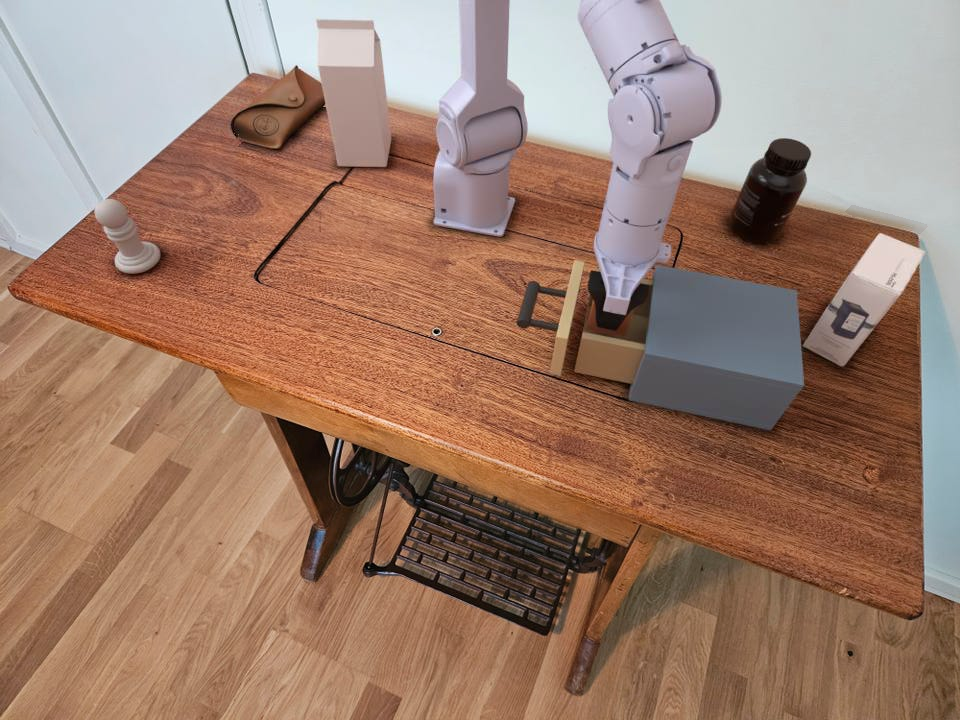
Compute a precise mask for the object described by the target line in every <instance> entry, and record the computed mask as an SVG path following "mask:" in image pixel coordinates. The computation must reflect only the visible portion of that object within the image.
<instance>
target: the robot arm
mask: <svg viewBox="0 0 960 720" xmlns="http://www.w3.org/2000/svg"><path fill="white" fill-rule="evenodd" d="M510 1H511V0H458V17H459V18H458V20H459V21H458V22H459V51H460V52H459V55H460V77H458V79H457V80H456V81H455V83H453V84H452V85H451V86H450V87H449V89H448V90H446V91H445V93H444V94H443V95H442V96H441V97H440V98H439V100H438V103H439V106H438V109H439V110H438V119H437V122H436V126H435V127H436V128H435V136H436V141H437V144H438V148H439V151H438V154H437V155H436V158H435V161H434V162H435V163H434V167H433V183H432V187H433V201H434V204H433V205H434V219H433V224H434V226H437V227H444V228H449V229H453V230H460V231H465V232H471V233H476V234H481V235H486V236H493V237H499V238H500V237H503V236H504V234H505V232H506V229H507V227H508V223H509V220H510V217H511V215H512V212H513V210H514V206H515V203H516V198H515V197H512V196H509V189H510V175H511V174H510V173H511V160H512V159H516V157H517V149H519V148H522V147H523V146H524V144H525V143H526V140H527V137H528V131H529V125H528V118H527V114H526V110H525V95H524V93H523V92H522V90H521V89H520V87H519V86H517V84H516V83H515V82H514V81H512V80H510V79H509V78H508V68H509V64H508V63H509V38H510V37H509V35H510V34H509V33H510V4H511V3H510ZM577 20H578V23H579V26H580V27H581V30H582V32H583V34H584V36H585V39H586V41H587V43H588V45H589V46H590V49H591V51H592V53H593V56H594V57H595V60H596V61H597V64H598V66H599V68H600V70H601V72H602V74H603V76H604V78H605V81H606V83H607V85H608V87H609V89H610V92H611V94H612V96H613V98H609V99H608V102H607V120H608V125H609V129H610V133H611V134H610V135H611V144H610V148H609V154H610V160H611V162H612V166H611V171H610V177H609V181H608V186H607V190H606V195H605V199H604V203H603V209H602V213H601V217H600V222H599V228H598V231H597V232H596V234H595V235H594V236H595V237H594V241H593V252H594V255H595V258H596V261H597V265H598V268H599V270H600V271H601V272H598V271H595V270H594V269H591V270H590V272H589V276H588V282H587V292H588V294H589V296H590V295H591V296H592V298H593V300H594V303H595V314H596V324H597V327H600V328H605V329H610V330H617V329H618V328H619V326H620V325H621V324H622V322H623V321H624V319H625V318H626V316H627V315H628V314H629V313H630V312H631V311H632V310H633V309H634V308H636V307H637V306H639V305H641V304H643V303H644V302H645V301H646V299H647V298H648V294H649V287H650V285H647V284H642V283H641V281H642V280H643V279H645V278H646V276H647V275H648V274H649V272H650V271H651V270H652V269H653V267H654V266H655V264H656V263H661V264H665V263H666V264H667V263H668V262H669V261H670V259H671V255H672V245H670V244H669V243H667V242H662V240H663V237H664V234H665V230H666V227H667V225H668V221H669V218H670V216H671V213H672V209H673V207H674V203H675V200H676V197H677V194H678V191H679V188H680V184H681V181H682V179H683V175H684V172H685V169H686V167H687V162H688V160H689V157H690V154H691V150H692V147H693V144H694V140H693V139H696V138H698V137H700V136H701V135H703V134H705V133H707V132H708V131H710V130H711V129H712V128H713V127H714V126H715V124H716V123H717V121H718V118H719V116H720V114H721V110H722V103H723V102H722V101H723V100H722V99H723V98H722V97H723V96H722V89H721V85H720V82H719V79H718V75H717V72H716V68H715V66H713V65H712V64H711V62H709V61H708V60H707V59H705V58H703V57H702V56H699V55H696V54H695V53H694V52H693V51H692V49H691V47H690V46H687V45H686V44H681V43H680V41H679V38H678V37H677V35H676V34H677V33H676V32H675V30H674V28H673V26H672V24H671V21H670V19H669V17H668V15H667V13H666V11H665V8H664V7H663V5H662V3H661V0H580V3H579V7H578V12H577Z"/></svg>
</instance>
